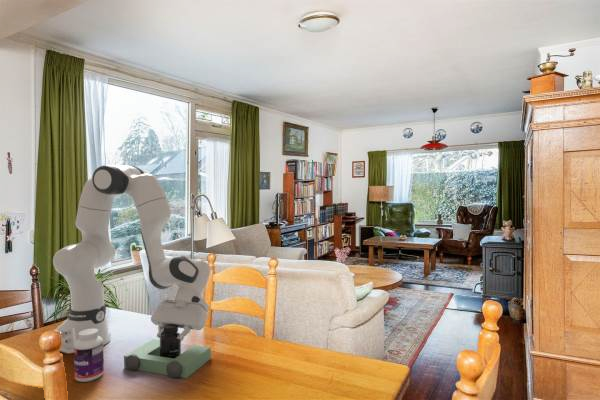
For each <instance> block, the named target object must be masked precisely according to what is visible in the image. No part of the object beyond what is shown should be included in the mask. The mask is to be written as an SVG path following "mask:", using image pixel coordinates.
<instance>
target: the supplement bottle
mask: <svg viewBox="0 0 600 400" xmlns="http://www.w3.org/2000/svg"><path fill="white" fill-rule="evenodd" d="M163 333H164V334H162V335H161V337H160V338H159V340H160V357H167V358H173V359H175V358H176V357H178V356H179V355H180V354H182V341H179V340H177V337H178V334H181V332H179V328H178V325H176V324H168V325H165V326H164V327H163Z"/></svg>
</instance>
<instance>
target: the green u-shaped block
mask: <svg viewBox="0 0 600 400" xmlns="http://www.w3.org/2000/svg"><path fill="white" fill-rule="evenodd" d="M211 349H212V348H211V347H210V346H205V345H204V346H203V345H198V344H197V345H196V344H193V345H191V346H190V347H189V348H188V349H186V350H185V351H184V352H181V354H180V355H179V356H178V357H176V358H175V359H173V358H167V357H160V339H153V338H152V339H151V340H149V341H148V342H145V343H144V344H143V345H141V346H139V347H137V348H136V349H133V350H132V351H130V352H129V353H126V354H125V355H123V368H124V369H127V370H128V371H130V372H134V371H141V372H147V373H151V374H152V373H153V374H158V375H165V376H168V377H170V378H172V379H177V378H183V379H188V377H190V376H191V375H192V374H194V373H195V372H196V371H198V370H199V369H200V368H201V367H202V366H204V365H205V364H206V363H207V362H209V361H210V360H212V352H211V351H212V350H211Z"/></svg>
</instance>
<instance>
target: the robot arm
mask: <svg viewBox="0 0 600 400" xmlns="http://www.w3.org/2000/svg"><path fill="white" fill-rule="evenodd" d="M118 195H119V196H120V195H121V196H123V195H129V197H131V199H132V200H133V203H134V206H135V209H136V212H137V215H138V219H139V223H140V233H141V239H142V242H143V247H144V251H145V255H146V259H147V263H148V279H149V281H150V284H151V285H153V287H154V288H156V289H158V290H166V289H168V288H170V287H172V286H175V285H176V286H178V289H177V291H176V293H175V296H174V298H173V299H171V300H169V299H164V300H162V301H161V302H159V303H158V304H159V305H157V306H156V309H155V310H154V311H153V313H152V315H151V316H150V321H151V323H152V324H154V325H155V326H158V327H157V328H158V332H157V334H156V337H157V338H159V339H160V337H161V335H162V334H164V333H163V327H164V326H165V325H168V324H176V325H178V329H183V331H182V332H180V334H178V337H177V340H179V341H181V342H184V339H185V337H186V336H187V335H189V334H190V333H191V330H192V331H193V330H194V331H202V329H204V327H205V325H206V323H207V319H208V315H209V313H208V312H209V311H210V309H211V307H210V306H209V304H208V303H207V302H206V300H205V299H204V298H202V295H203V292H204V291H205V289H206V287H207V286H208V283H209V280H210V278H211V267H210V265H209V263H208V262H206V261H205V260H203V259H200V258H198V259H192V258H189V257H186V256H184V255H176V256H173V257H170V258H168V259H167V258H166V255H165V251H164V248H163V244H162V238H161V236H162V233H163V230H164V228H165V226H166V225H167V224H168V222H169V220H170V218H171V215H172V214H171V207H170V204H169V200H168V199H167V196H166V193H165V191H164V189H163V186H162V185H161V184H160V182H159V180H158V178H157V176H155V175H154V174H151V173H146V172H145V171H144V170H142V169H141V168H139V167H137V166H133V165H128V164H105V165H101V166H99V167H97V168H96V169H95V170H94V171H93V173H92V176H91V177H90V178H89V179H88V180H86V181H85V184H84V185H83V188H82V191H81V194H80V197H79V202H78V207H77V212H76V217H75V227H76V229H78V230H79V231H80V233H81V242H77V243H75V244H74V243H73V244H69V245H67V246H64V247H62V248H61V249H59V250H58V251H56V252H55V253H54V256H53V257H52V265H53V267H54V270H55V271H56V272H57V273H58V274H59V275H62V277H63V278H64V279H65V281H66V283H67V285H68V287H69V294H70V306H71V308H69V309H67V310H65V314H68V315H67V319H65V320H64V321H62V322H61V324H60V325H58V326H57V327H56V328H55V330H58V331H59V332H60V334H61V337H62V346H61V349H60V352H62V353H65V354H74V343H75V342H76V341H77V340H78V339H79V338H78V333H79V332H80V331H83V330H86V329H98V333H99V334H98V336H100V337H102V339H103V346H104V345H106V344H108V343H109V342H111V337H110V336H111V332H110V331H109V324H108V320H107V318H108V317H107V316H106V314H107V306H106V303H105V288H104V284H103V283H102V281H100V280H98V279H97V278H96V273H95V269H97V268H102V267H105V266H106V265H108V264H109V263H111V262H112V261H113V260H114V259H115V256H116V248H115V246H114V243H112V242H111V239H110V234H109V227H110V220H111V214H112V208H113V203H114V199H115V197H116V196H118Z"/></svg>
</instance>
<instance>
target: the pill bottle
mask: <svg viewBox="0 0 600 400" xmlns="http://www.w3.org/2000/svg"><path fill="white" fill-rule="evenodd" d="M98 334H99V333H98V329H86V330H83V331H80V332H79V333H78V338H79V339H78V340H77V341H76V342H75V343H74V353H73V358H74V359H73V363H74V365H73V366H74V368H73V369H74V379H75V380H76V381H77V382H79V383H80V382H81V383H83V382H84V383H87V382H92V381H95V380H97V379H99V378H100V377H101V376H103V374H104V372H105V371H104V370H105V365H104V364H105V363H104V361H105V360H104V345H103V339H102V337H100V336H98Z"/></svg>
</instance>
